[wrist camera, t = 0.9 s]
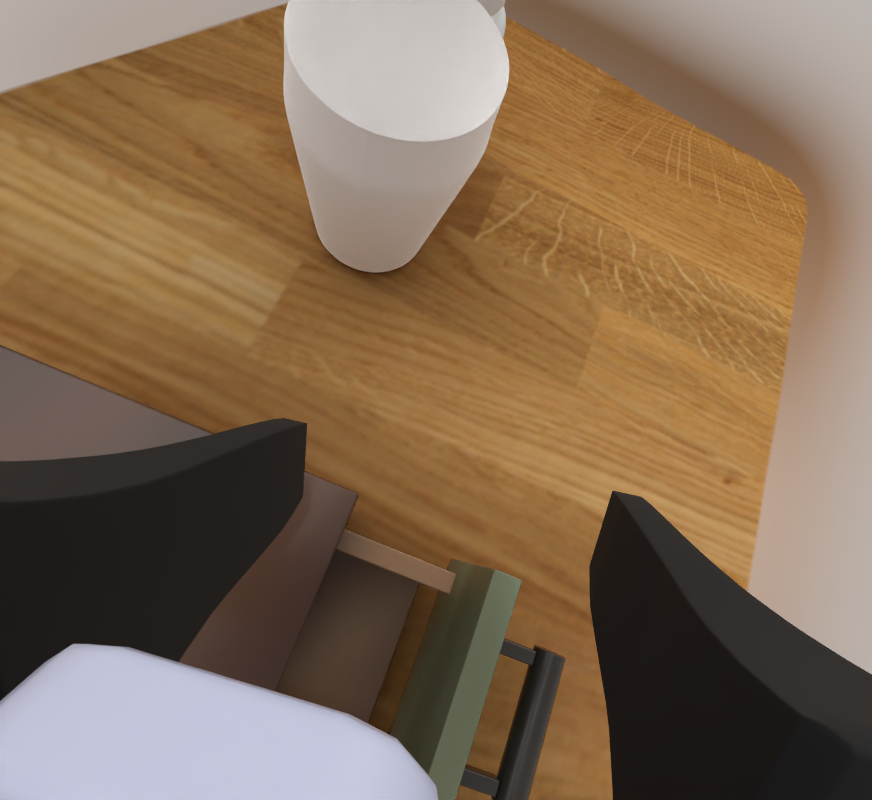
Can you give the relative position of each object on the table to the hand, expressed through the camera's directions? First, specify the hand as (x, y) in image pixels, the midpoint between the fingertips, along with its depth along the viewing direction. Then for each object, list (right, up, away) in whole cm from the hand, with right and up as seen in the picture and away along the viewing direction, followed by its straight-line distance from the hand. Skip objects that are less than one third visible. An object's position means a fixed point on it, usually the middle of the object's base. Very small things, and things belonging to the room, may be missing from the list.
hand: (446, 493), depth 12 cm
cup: (-4, +13, +19) cm, 23 cm away
